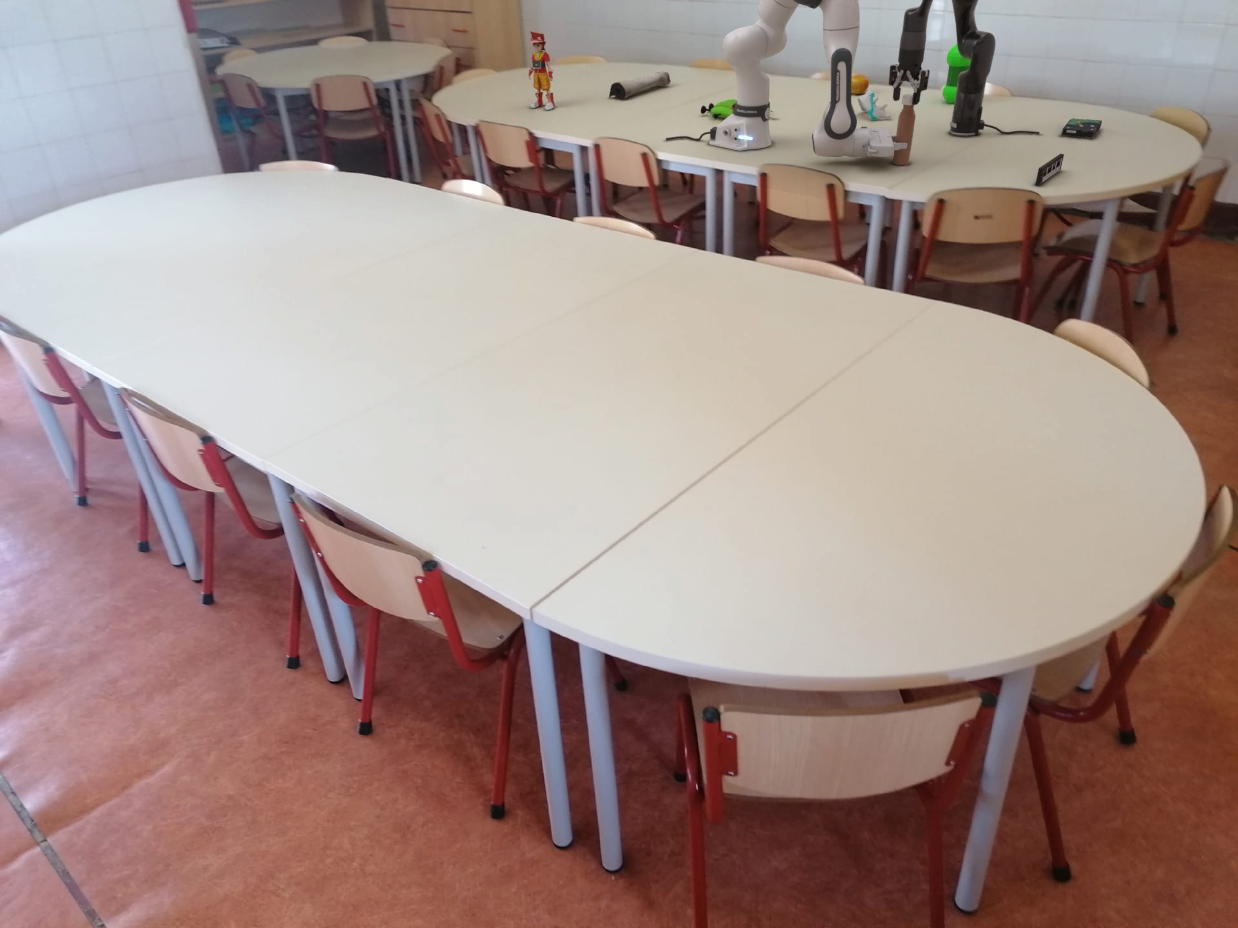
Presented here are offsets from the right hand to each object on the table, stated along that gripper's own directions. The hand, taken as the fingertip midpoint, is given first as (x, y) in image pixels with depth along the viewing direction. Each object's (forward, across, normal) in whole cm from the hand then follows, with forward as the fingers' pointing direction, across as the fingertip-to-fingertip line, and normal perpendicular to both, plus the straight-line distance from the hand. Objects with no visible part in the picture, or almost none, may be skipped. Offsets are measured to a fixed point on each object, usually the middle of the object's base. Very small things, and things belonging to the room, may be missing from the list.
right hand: (905, 102), depth 285 cm
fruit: (+19, +76, -60) cm, 99 cm away
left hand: (+12, -2, -1) cm, 12 cm away
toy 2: (+19, +83, -3) cm, 85 cm away
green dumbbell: (+19, +39, -75) cm, 86 cm away
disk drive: (+19, -20, -70) cm, 75 cm away
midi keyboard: (+19, -42, -20) cm, 50 cm away
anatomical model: (+19, +46, -37) cm, 62 cm away
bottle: (+19, -1, 0) cm, 19 cm away
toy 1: (+19, +154, +47) cm, 163 cm away
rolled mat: (+19, +146, +2) cm, 148 cm away
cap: (-2, -1, 0) cm, 2 cm away
